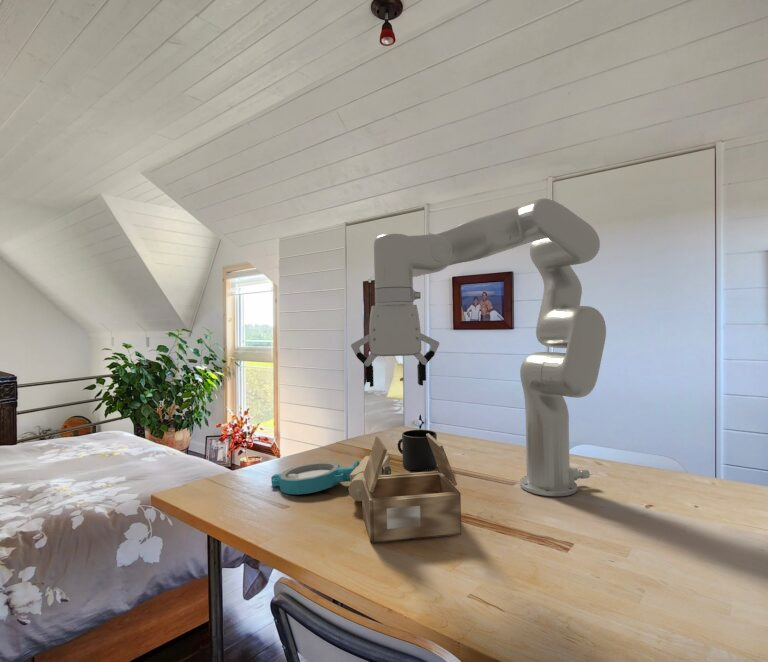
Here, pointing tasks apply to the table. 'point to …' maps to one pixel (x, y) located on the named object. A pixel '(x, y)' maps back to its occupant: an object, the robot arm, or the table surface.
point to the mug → (417, 450)
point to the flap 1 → (374, 463)
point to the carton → (411, 507)
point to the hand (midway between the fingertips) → (396, 385)
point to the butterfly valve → (325, 477)
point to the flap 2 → (441, 459)
